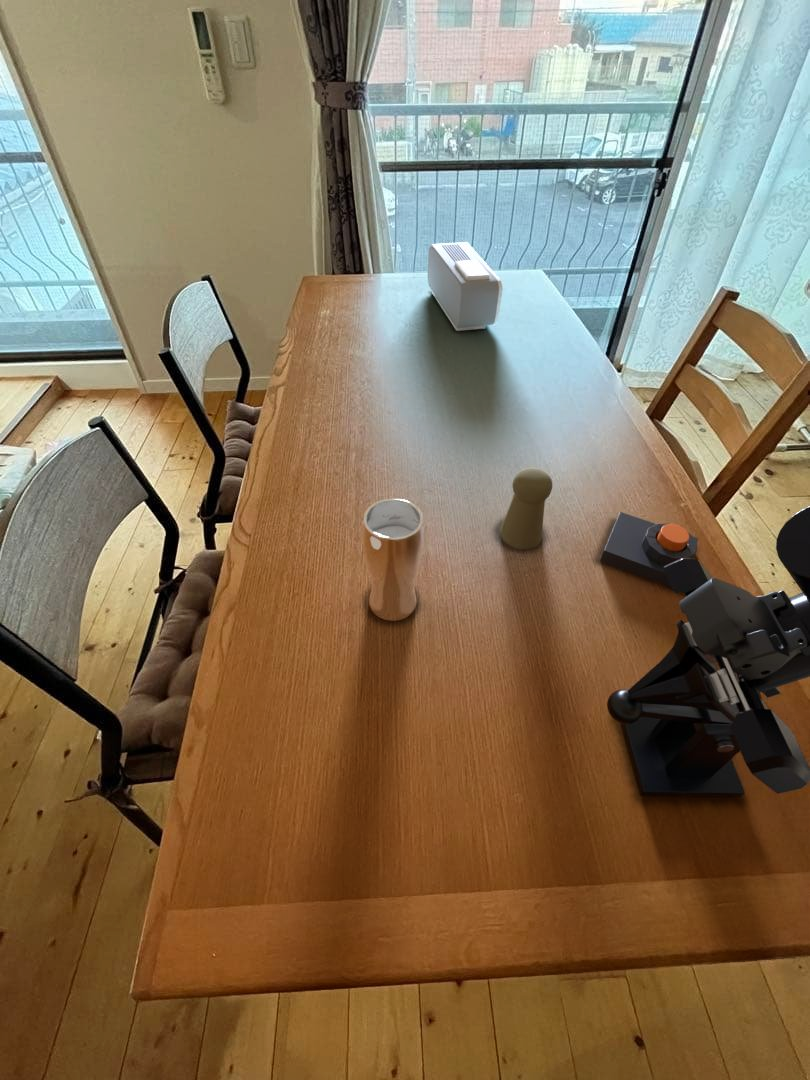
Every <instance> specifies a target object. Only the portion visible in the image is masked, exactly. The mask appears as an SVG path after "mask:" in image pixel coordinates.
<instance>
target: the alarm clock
mask: <svg viewBox="0 0 810 1080" xmlns="http://www.w3.org/2000/svg"><path fill="white" fill-rule="evenodd" d="M427 284H428V287H429V288H430V290H431V295H433V297H434V298H435V300H436V301H437V303H438V305H439V306H440V308H441V309H442V311H443V312H444V314H445V316H446V317H447V318H448V320H449V321H450V323H451V324H452V326H453V328H454V330H455V331H456V332H460V331H461V332H462V331H470V330H471V331H472V330H482V329H483V330H484V329H487V326H496V325H497V323H498V322H499V318H500V314H501V306H502V300H503V299H502V298H503V291H504V290H503V289H504V287H503V282H502V279H501V278H500V277H499V276H498V274H496V272H495V271H494V270H493V269H492V268H491V267H490V266H489V265H488V264H487V263H486V261H485V260H484V259H483V257H481V256H480V255H479V254H478V252H476V250H475V249H474V248H473V247H472V246H471V245H470V243H469V242H468V241H461V242H446V243H432V244H430V245H429V247H428V257H427Z"/></svg>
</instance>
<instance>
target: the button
mask: <svg viewBox="0 0 810 1080" xmlns="http://www.w3.org/2000/svg"><path fill="white" fill-rule="evenodd" d="M666 524H667V525H665V526H663V527H662V528H661V530H660V532H659V534H658V537H657V542H658V544H659V545H660V546H661V547H663V548H664V549H666V550H669V551H672V552H679V551H681V550H683V549H684V547H685V546H686V544H687V542H688V540H689V534H690V533H689V532H688V530H686V529H685V528H684V527H683V526H681V525H678V524H673V523H666ZM688 533H689V534H688Z"/></svg>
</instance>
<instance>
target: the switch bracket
mask: <svg viewBox="0 0 810 1080" xmlns="http://www.w3.org/2000/svg"><path fill="white" fill-rule="evenodd" d="M731 725H732V724H703V725H702V726H701V727H700V728H699V730H698V731H697V732H696V730H695V727H694V724H693V723H689V722H681V721H673V720H664V719H656V718H648V717H640V718H639V719H638V720H637V721H636V722H634V723H631V724H623V723H620V726H621V729H622V733H623V737H624V741H625V745H626V748H627V751H628V755H629V759H630V762H631V766H632V770H633V773H634V776H635V780H636V784H637V787H638V792H639V795H640V797H669V798H670V797H671V798H673V797H675V798H676V797H677V798H679V797H680V798H737V799H738V798H739V799H740V798H741V797H743V796H744V795H745V794H746V791H745V789H744V786H743V785H742V782H741V779H740V777H739V775H738V772H737V769H736V767H735V764H734V762H733V760H732V759H733V758H734V757H735V756H736V755H738V753H740V752H741V751H740V749H739V747H738V744H737V742H736V739H735V737H734V735H733V732H732V730H731V728H730V727H731Z"/></svg>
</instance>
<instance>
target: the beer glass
mask: <svg viewBox="0 0 810 1080" xmlns="http://www.w3.org/2000/svg"><path fill="white" fill-rule="evenodd" d="M424 537H425V536H424V516H423V512H422V511H421V509H420V508H419V507H418V506H417V505H416V504H414V503H412V502H411V501H408V500H406V499H403V498H385V499H381V500H377V501H375V502H374V503H372V504H371V505H369V507H368V508H367V509H366V510H365V512H364V514H363V527H362V550H363V558H364V563H365V566H366V570H367V572H368V575H369V580H370V583H371V590H370V593H369V597H368V598H369V600H368V604H369V608H370V610H371V611H372V613H373V614H374V615H375V616H376V617H378V618H380V619H381V620H384V621H389V622H396V621H397V622H398V621H402V620H405V619H406V618H408V617H410V615H412V613H413V612H414V611H415V609H416V606H417V595H416V591H415V582H416V578H417V576H418V573H419V570H420V567H421V563H422V558H423V553H424Z"/></svg>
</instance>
